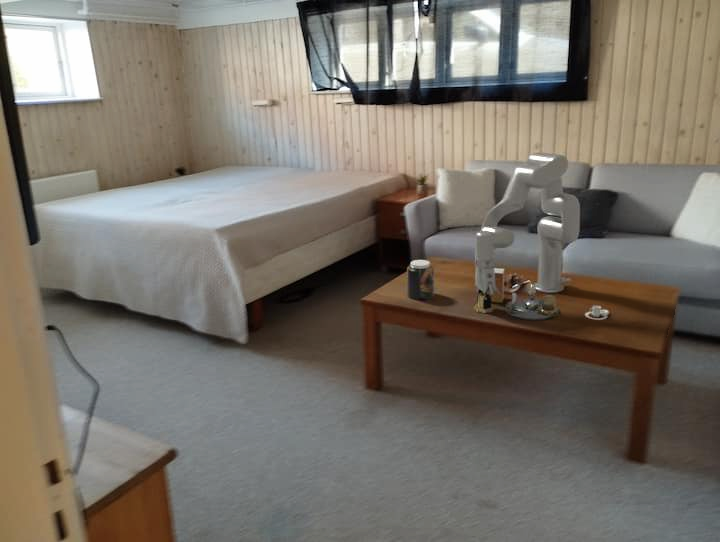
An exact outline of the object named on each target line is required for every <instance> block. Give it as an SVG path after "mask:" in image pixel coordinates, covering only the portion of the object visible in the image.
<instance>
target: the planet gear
mask: <svg viewBox="0 0 720 542" xmlns="http://www.w3.org/2000/svg"><path fill="white" fill-rule="evenodd" d="M487 294H489V293H486V296H487ZM483 299H484V292H482V293H479V294H478V303H477V302H476V304H475V305H474V307H473V309H474V310H475V311H476V313H482V314H486V313H492V312H493V311H494V310H495V306H494V305H492V303H491V308H486V309H484V308H483Z"/></svg>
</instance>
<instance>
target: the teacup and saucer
mask: <svg viewBox="0 0 720 542" xmlns="http://www.w3.org/2000/svg"><path fill="white" fill-rule="evenodd" d="M591 310H592V311H591ZM589 314H591V316H593V317H594V318H593V317H591V316H589ZM609 314H610V312H609V310H608V309H602V306H600V305H592V307H591V308H590V309H589V311H587V312H585V314H584V316H585V317H586V318H588V319H591V320H596V321H597V320H598V321H601V320H606V319H607V318H608V315H609ZM600 316H601V318H599V317H600Z"/></svg>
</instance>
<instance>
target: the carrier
mask: <svg viewBox="0 0 720 542" xmlns="http://www.w3.org/2000/svg"><path fill="white" fill-rule="evenodd" d="M534 284H535V283H533V284H532V283H531V284H530V293H529V294H530V295H529V296H530V298H518V299H517V293H516V292H512V293H511V301H508V302H507V303H506V304H505V309H504V310H505V313H507V314H508V315H509V316H511V317H514V318H516V319H520V320H526V321H546V320H549V319H553V318H555V317H556V316H558V314H559V312H560V309H559V308H558V306H557V305H556V296H555V295H553V294H544V295H542V299H539V298H538V299H536V298H535V295H536V293H535V292H536V291H535V290H536V289H535V285H534Z"/></svg>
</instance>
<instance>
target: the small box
mask: <svg viewBox="0 0 720 542" xmlns="http://www.w3.org/2000/svg"><path fill="white" fill-rule="evenodd" d="M505 270H506V269H505V268H496V267H494V271H495V291H494V292H493V296H492V299H491V303H500V304H501V303H503V301H504V295H505V294H504V293H505V290H504V289H505ZM486 291H488V290H486Z"/></svg>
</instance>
